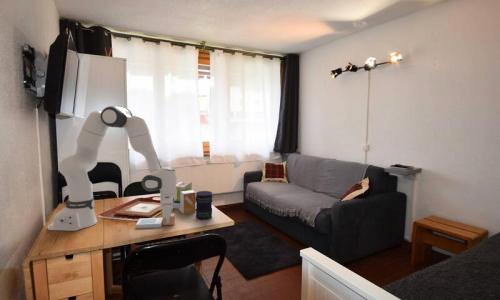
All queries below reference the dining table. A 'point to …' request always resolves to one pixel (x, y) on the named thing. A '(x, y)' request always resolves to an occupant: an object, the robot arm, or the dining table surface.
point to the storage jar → (203, 205)
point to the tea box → (181, 187)
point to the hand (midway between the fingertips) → (168, 220)
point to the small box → (187, 201)
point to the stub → (172, 220)
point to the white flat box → (149, 222)
